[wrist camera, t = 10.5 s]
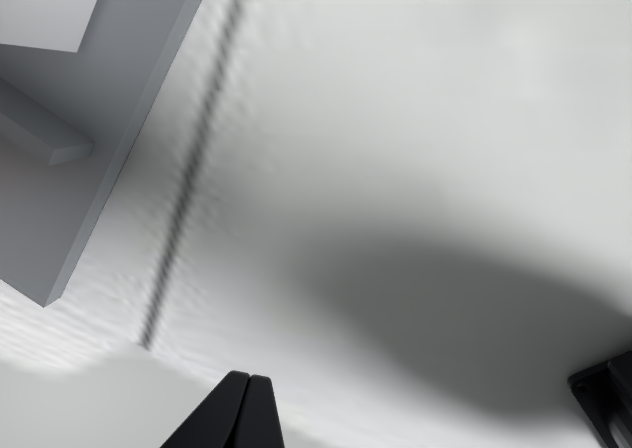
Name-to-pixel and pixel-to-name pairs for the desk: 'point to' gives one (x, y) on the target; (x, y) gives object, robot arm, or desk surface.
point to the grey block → (45, 23)
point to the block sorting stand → (75, 133)
